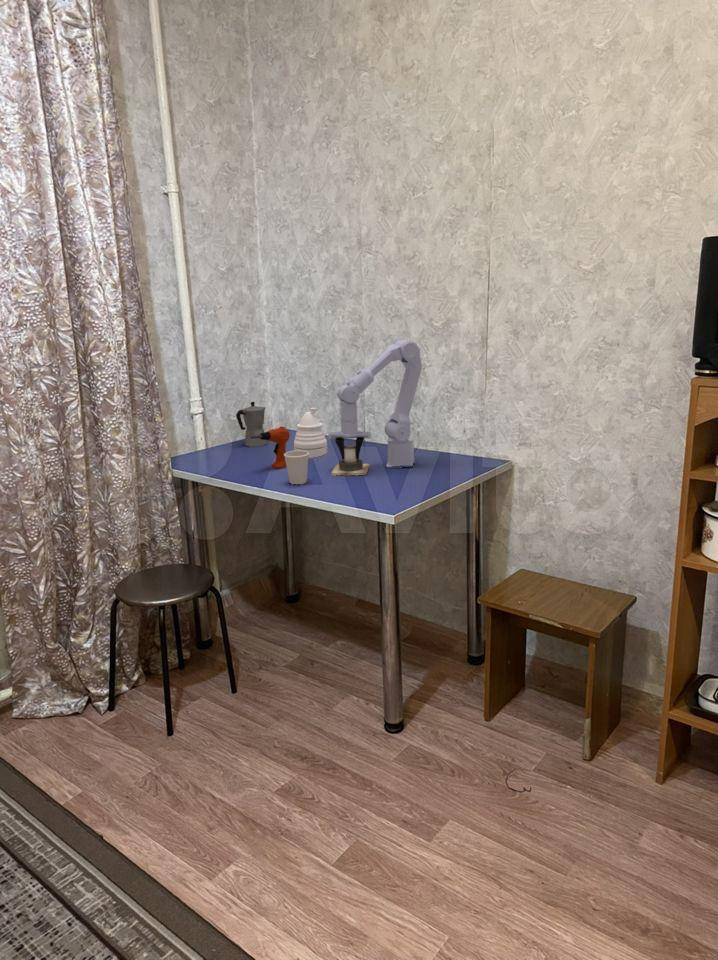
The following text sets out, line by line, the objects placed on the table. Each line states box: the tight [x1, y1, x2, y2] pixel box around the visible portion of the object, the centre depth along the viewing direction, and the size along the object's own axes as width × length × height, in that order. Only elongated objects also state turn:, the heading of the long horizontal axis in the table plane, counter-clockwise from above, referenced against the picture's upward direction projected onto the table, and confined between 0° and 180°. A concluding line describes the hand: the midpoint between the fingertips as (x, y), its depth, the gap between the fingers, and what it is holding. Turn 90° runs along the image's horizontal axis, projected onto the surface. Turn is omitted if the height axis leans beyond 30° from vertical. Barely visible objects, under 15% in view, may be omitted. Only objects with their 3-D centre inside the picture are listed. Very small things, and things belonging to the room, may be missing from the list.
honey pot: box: [293, 407, 328, 459], centre depth 269 cm, size 13×13×18 cm
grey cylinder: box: [344, 444, 357, 464], centre depth 244 cm, size 4×4×6 cm
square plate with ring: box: [330, 458, 371, 477], centre depth 245 cm, size 12×12×4 cm
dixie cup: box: [284, 450, 309, 486], centre depth 233 cm, size 8×8×10 cm
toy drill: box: [250, 426, 291, 470], centre depth 250 cm, size 5×19×15 cm, turn 141°
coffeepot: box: [235, 401, 268, 448], centre depth 288 cm, size 15×9×18 cm, turn 139°
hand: (350, 458), depth 244 cm, fingers closed on grey cylinder, 4 cm apart
